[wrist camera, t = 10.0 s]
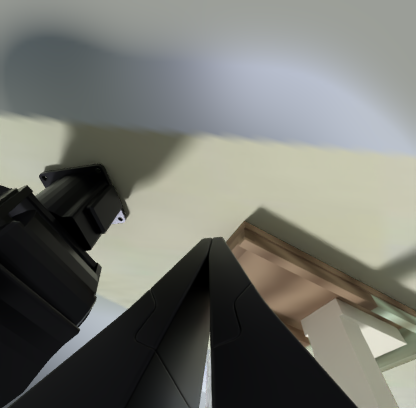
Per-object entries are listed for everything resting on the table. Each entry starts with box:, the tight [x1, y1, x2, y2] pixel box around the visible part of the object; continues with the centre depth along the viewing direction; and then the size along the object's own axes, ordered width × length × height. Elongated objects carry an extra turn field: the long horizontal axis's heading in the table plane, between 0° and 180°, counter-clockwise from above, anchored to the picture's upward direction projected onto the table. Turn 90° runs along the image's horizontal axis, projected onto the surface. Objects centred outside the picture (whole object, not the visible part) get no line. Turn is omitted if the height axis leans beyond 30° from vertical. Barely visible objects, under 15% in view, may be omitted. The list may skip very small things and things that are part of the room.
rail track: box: [226, 221, 416, 372], centre depth 28 cm, size 28×12×4 cm, turn 60°
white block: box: [301, 298, 407, 408], centre depth 26 cm, size 11×6×11 cm, turn 60°
